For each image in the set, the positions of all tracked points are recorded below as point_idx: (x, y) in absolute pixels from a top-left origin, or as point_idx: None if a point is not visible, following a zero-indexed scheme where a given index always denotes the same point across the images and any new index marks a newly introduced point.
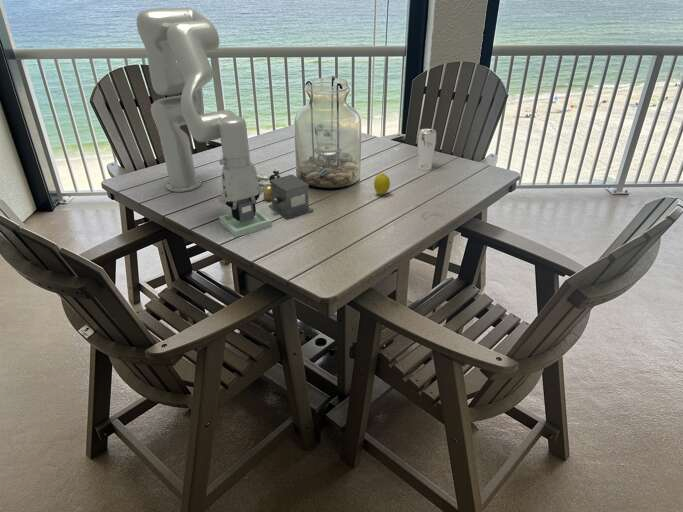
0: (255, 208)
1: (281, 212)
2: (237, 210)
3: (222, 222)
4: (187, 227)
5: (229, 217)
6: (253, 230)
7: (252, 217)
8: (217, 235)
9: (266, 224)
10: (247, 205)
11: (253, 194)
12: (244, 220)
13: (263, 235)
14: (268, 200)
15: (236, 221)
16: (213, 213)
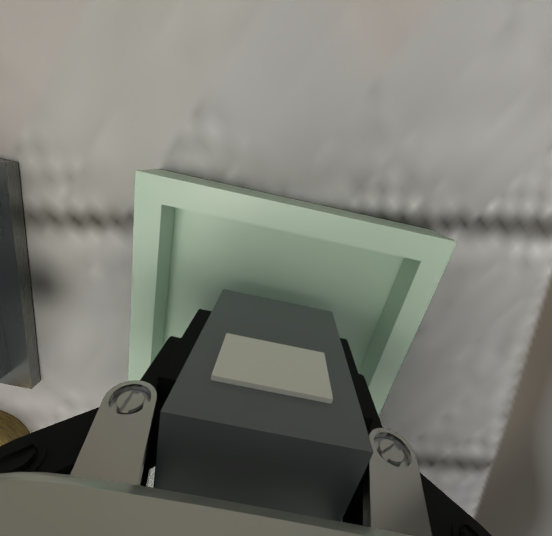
0: (160, 351)
1: (2, 262)
2: (359, 404)
3: None
4: (482, 488)
5: None
6: (302, 203)
7: (236, 298)
8: (472, 333)
9: (190, 178)
10: (249, 393)
11: (52, 529)
12: (305, 311)
13: (290, 95)
14: (9, 427)
15: None
16: None
